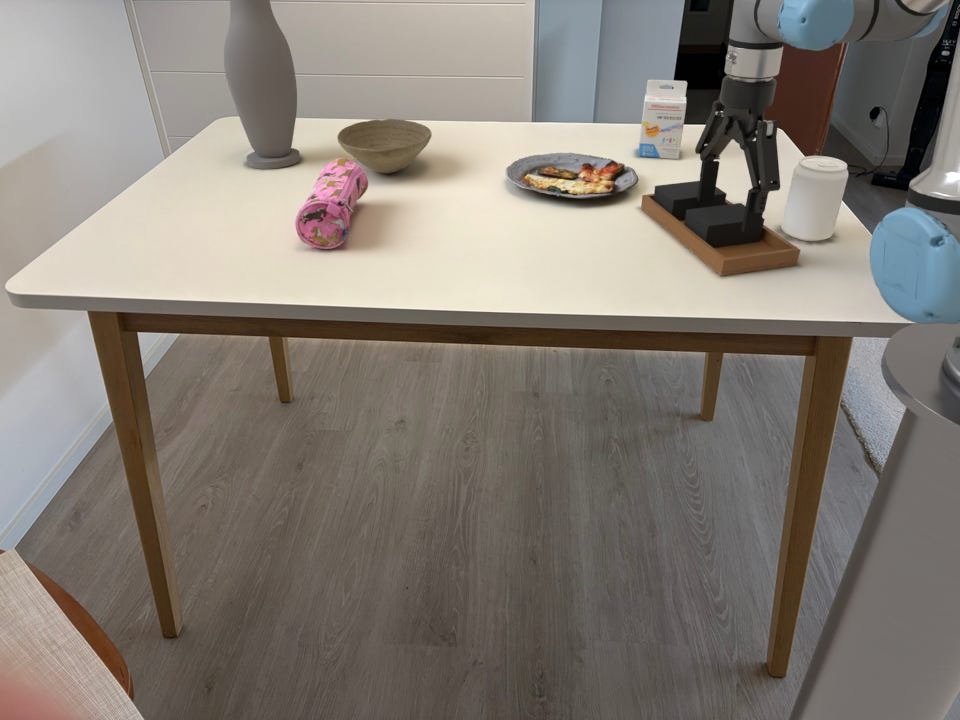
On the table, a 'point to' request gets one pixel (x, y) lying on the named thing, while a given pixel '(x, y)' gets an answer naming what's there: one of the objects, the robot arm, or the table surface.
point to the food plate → (572, 175)
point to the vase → (262, 83)
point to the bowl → (385, 143)
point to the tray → (728, 258)
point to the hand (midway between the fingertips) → (726, 215)
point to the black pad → (721, 225)
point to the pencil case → (331, 204)
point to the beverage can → (814, 198)
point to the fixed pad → (684, 198)
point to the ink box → (663, 119)
